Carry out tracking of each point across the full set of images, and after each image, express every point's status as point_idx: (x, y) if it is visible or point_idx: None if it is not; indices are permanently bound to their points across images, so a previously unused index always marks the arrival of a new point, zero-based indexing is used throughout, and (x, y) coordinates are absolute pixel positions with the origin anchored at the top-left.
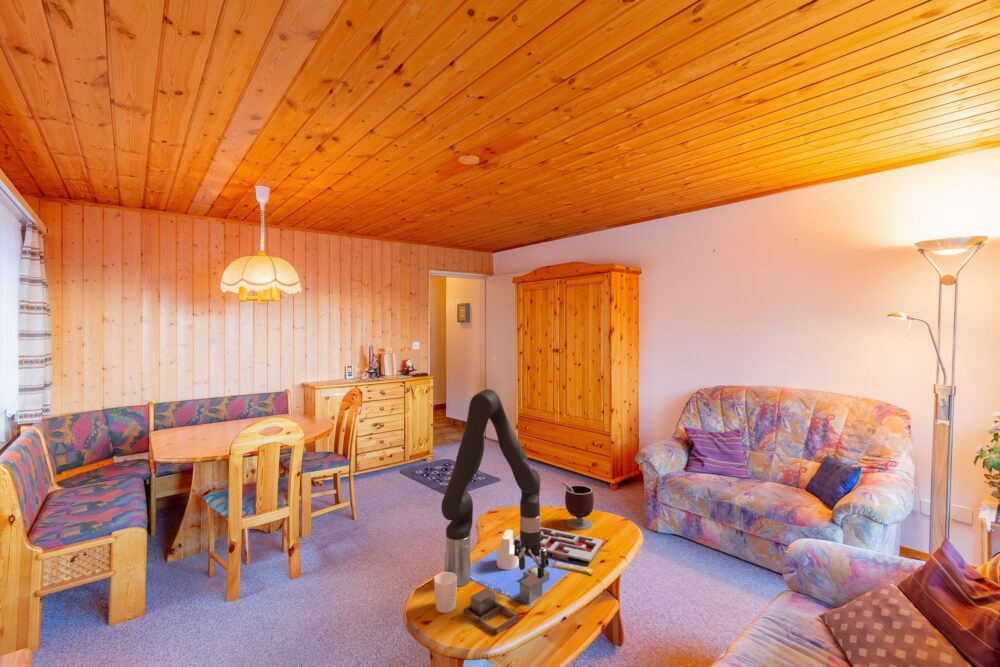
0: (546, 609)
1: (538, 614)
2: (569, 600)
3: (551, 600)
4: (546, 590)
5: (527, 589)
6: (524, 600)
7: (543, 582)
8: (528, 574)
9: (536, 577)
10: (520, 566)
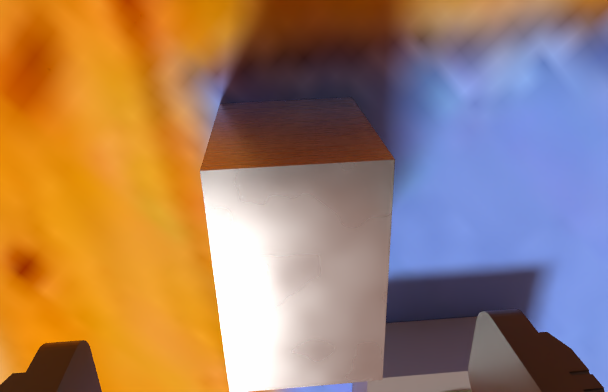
0: (41, 158)
1: (14, 37)
2: None
3: (129, 280)
4: None
5: (238, 149)
6: (287, 102)
7: (352, 388)
8: None
9: (296, 369)
10: (526, 349)
